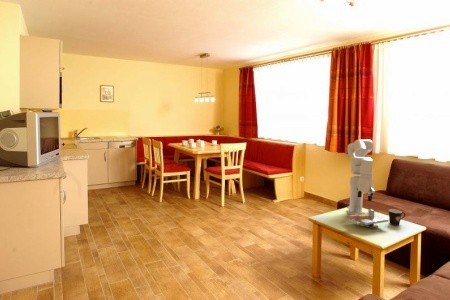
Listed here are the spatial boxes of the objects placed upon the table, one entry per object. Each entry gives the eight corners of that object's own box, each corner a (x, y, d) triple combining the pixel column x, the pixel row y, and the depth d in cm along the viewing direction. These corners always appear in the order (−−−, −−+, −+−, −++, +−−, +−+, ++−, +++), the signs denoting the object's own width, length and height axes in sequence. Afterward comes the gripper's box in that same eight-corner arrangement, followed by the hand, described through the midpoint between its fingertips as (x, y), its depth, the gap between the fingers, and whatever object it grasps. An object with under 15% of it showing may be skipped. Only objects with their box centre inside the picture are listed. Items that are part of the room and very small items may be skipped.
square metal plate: (346, 223, 226) (347, 208, 224) (368, 220, 233) (369, 205, 231) (364, 232, 209) (365, 216, 207) (387, 228, 216) (389, 212, 214)
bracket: (346, 218, 217) (346, 214, 217) (355, 217, 220) (355, 213, 220) (352, 221, 212) (352, 216, 211) (361, 219, 214) (361, 215, 214)
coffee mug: (388, 225, 223) (389, 212, 222) (387, 221, 231) (387, 208, 230) (406, 227, 219) (407, 214, 218) (404, 223, 227) (405, 210, 226)
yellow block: (357, 225, 220) (358, 214, 219) (365, 224, 222) (365, 214, 221) (360, 226, 217) (361, 216, 216) (367, 225, 219) (368, 215, 218)
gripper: (353, 174, 222) (351, 196, 224) (371, 179, 206) (369, 203, 208) (361, 173, 224) (359, 195, 227) (379, 178, 208) (378, 202, 211)
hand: (364, 199), depth 217 cm, fingers open, 9 cm apart
